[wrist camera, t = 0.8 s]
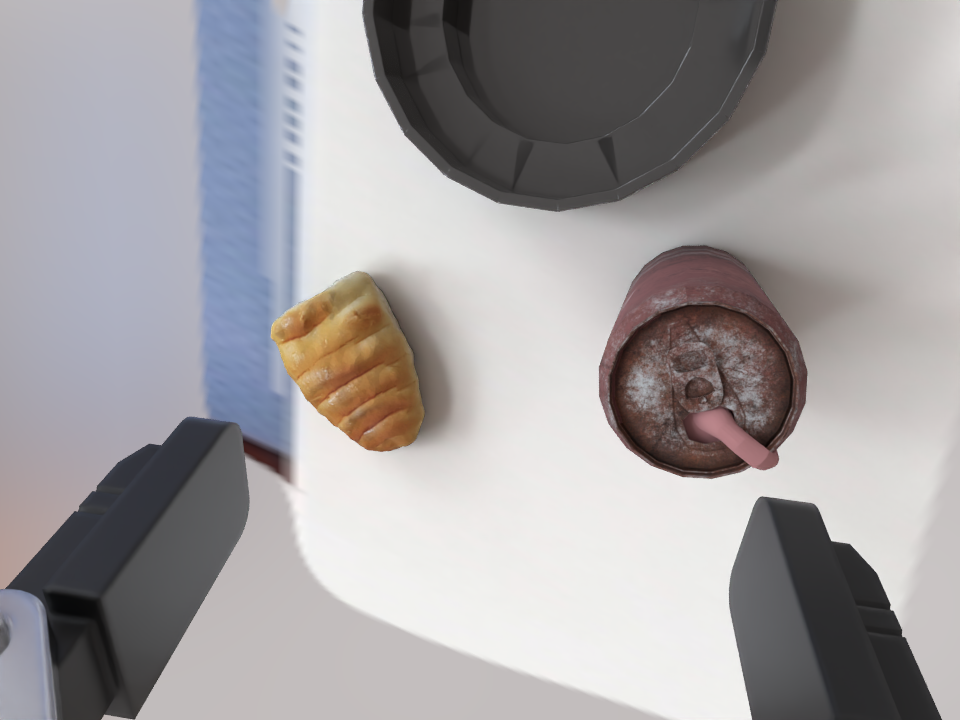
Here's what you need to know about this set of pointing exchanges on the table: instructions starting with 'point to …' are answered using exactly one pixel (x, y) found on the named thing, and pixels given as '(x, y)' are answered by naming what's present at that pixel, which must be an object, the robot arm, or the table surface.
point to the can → (701, 367)
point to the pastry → (353, 363)
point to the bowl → (563, 88)
